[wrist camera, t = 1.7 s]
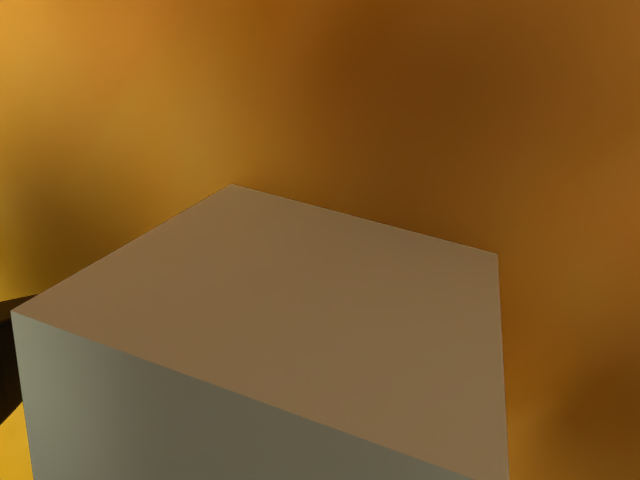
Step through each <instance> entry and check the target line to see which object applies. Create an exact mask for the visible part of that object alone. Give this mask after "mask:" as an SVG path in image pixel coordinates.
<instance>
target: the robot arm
mask: <svg viewBox="0 0 640 480" xmlns="http://www.w3.org/2000/svg"><path fill="white" fill-rule="evenodd" d="M37 295H39V294H36V295H31V296H26V297H21V298H17V299H12V300H7V301H2V302H0V425H1V424H2V423H3V422H4V421H5V420H6V419H7V418H8V417H9V416H10V415H11V413H12V412H13V411H14V410H15V409H16V408H17V407H18V406H19V405H20V403H21V402H22V401H23V399H22V391H21V384H20V377H19V370H18V362H17V355H16V348H15V341H14V333H13V326H12V319H11V312H10V311H11V310H12V309H14V308H16V307H18V306H19V305H21V304H23V303H25V302H26V301H28V300H30V299H32V298H33V297H35V296H37Z"/></svg>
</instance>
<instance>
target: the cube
mask: <svg viewBox="0 0 640 480" xmlns="http://www.w3.org/2000/svg"><path fill="white" fill-rule="evenodd" d="M10 312H11V319H12V326H13V333H14V341H15V348H16V355H17V362H18V370H19V377H20V384H21V391H22V399H23V406H24V413H25V420H26V428H27V435H28V442H29V449H30V457H31V464H32V471H33V478H34V480H510V478H509V459H508V440H507V421H506V402H505V383H504V364H503V345H502V326H501V307H500V288H499V269H498V254H497V253H493V252H489V251H485V250H481V249H478V248H474V247H470V246H466V245H462V244H459V243H455V242H451V241H447V240H443V239H440V238H436V237H432V236H428V235H425V234H421V233H417V232H413V231H409V230H406V229H402V228H398V227H394V226H390V225H387V224H383V223H379V222H375V221H371V220H368V219H364V218H360V217H356V216H352V215H349V214H345V213H341V212H337V211H333V210H330V209H326V208H322V207H318V206H315V205H311V204H307V203H303V202H299V201H296V200H292V199H288V198H284V197H280V196H277V195H273V194H269V193H265V192H261V191H258V190H254V189H250V188H246V187H242V186H239V185H235V184H230V185H228V186H226V187H225V188H223V189H221V190H219V191H218V192H216V193H214V194H212V195H211V196H209V197H207V198H206V199H204V200H202V201H200V202H199V203H197V204H195V205H193V206H192V207H190V208H188V209H186V210H185V211H183V212H181V213H179V214H178V215H176V216H174V217H172V218H171V219H169V220H167V221H165V222H164V223H162V224H160V225H159V226H157V227H155V228H153V229H152V230H150V231H148V232H146V233H145V234H143V235H141V236H139V237H138V238H136V239H134V240H132V241H131V242H129V243H127V244H125V245H124V246H122V247H120V248H119V249H117V250H115V251H113V252H112V253H110V254H108V255H106V256H105V257H103V258H101V259H99V260H98V261H96V262H94V263H92V264H91V265H89V266H87V267H85V268H84V269H82V270H80V271H79V272H77V273H75V274H73V275H72V276H70V277H68V278H66V279H65V280H63V281H61V282H59V283H58V284H56V285H54V286H52V287H51V288H49V289H47V290H45V291H44V292H42V293H40V294H39V295H37V296H35V297H33V298H32V299H30V300H28V301H26V302H25V303H23V304H21V305H19V306H18V307H16V308H14V309H12V310H11V311H10Z"/></svg>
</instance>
